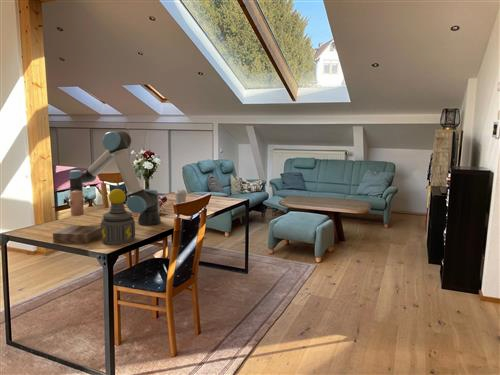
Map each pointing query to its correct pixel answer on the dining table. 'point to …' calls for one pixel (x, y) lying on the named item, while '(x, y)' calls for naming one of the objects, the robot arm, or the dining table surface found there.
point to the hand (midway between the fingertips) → (76, 203)
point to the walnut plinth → (77, 234)
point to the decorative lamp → (117, 221)
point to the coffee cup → (180, 196)
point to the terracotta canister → (76, 203)
